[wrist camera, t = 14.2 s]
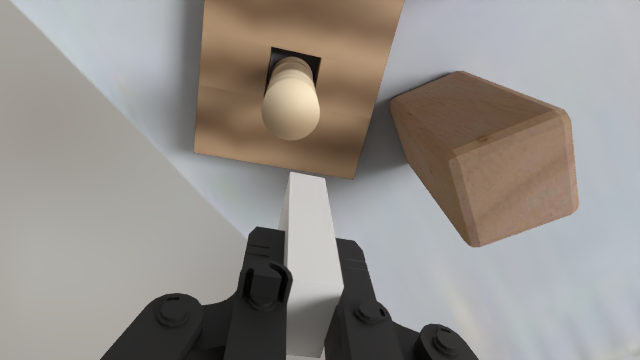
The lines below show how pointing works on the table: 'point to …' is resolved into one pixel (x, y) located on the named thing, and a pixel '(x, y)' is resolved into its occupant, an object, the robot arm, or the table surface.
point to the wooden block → (488, 155)
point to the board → (330, 80)
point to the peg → (291, 100)
